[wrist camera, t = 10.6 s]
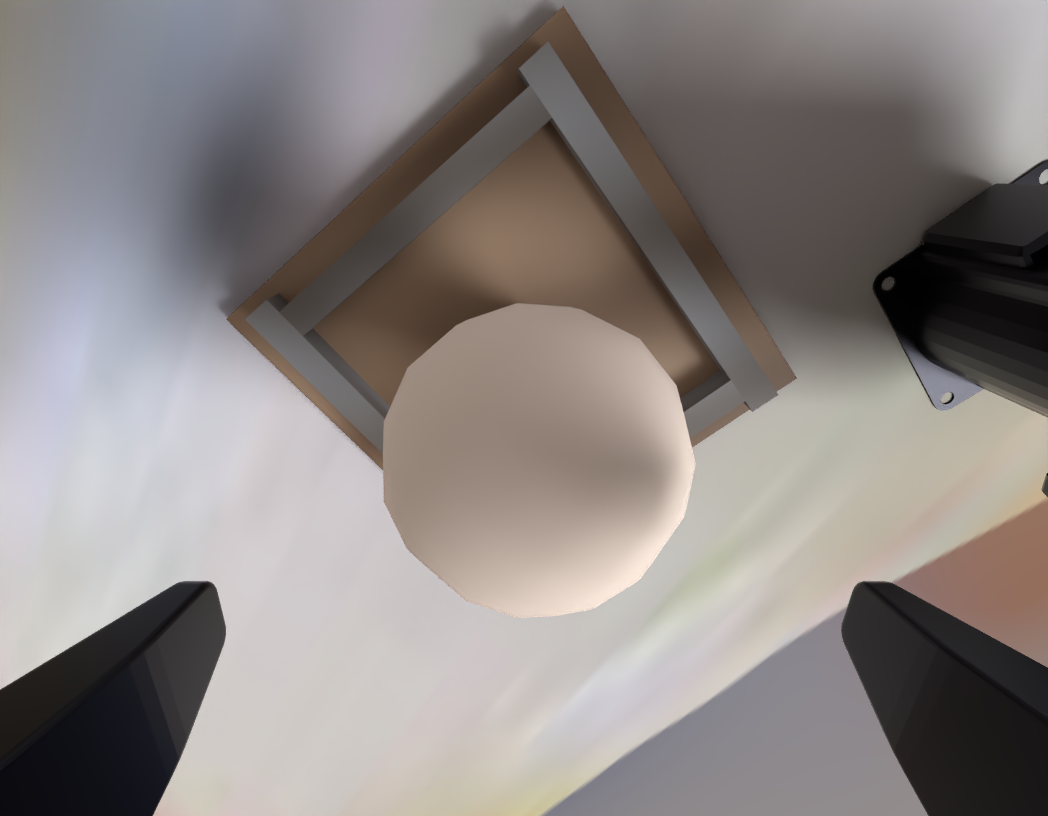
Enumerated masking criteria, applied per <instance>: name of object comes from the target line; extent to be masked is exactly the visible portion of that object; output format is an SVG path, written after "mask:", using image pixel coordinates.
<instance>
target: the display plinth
mask: <svg viewBox="0 0 1048 816" xmlns="http://www.w3.org/2000/svg"><path fill="white" fill-rule="evenodd" d="M516 303H523V304H537V305H551V306H565V307H573V308H577V309H581V310H583V311H585V312H587V313H589V314H591V315H593V316H595V317H597V318H599V319H601V320H603V321H605V322H607V323H609V324H611V325H613V326H615V327H617V328H619V329H621V330H623V331H625V332H627V333H629V334H631V335H633V336H635V337H637V338H639V339H640V340H641V341H642V342H643V344H644V345H645V346H646V347H647V349H648V350H649V351H650V352H651V354H652V355H653V356H654V358H655V359H656V360H657V361H658V363H659V364H660V365H661V366H662V368H663V369H664V370H665V371H666V373H667V374H668V375H669V377H670V378H671V379H672V380H673V382H674V383H675V384H676V385H677V389H678V393H679V397H680V401H681V404H682V408H683V412H684V416H685V420H686V425H687V429H688V433H689V437H690V442H691V446H692V447H693V446H695V445H697V444H698V443H700V442H701V441H703V440H704V439H706V438H707V437H709V436H710V435H712V434H713V433H715V432H716V431H718V430H719V429H721V428H722V427H724V426H725V425H727V424H728V423H730V422H731V421H733V420H734V419H736V418H737V417H739V416H740V415H742V414H743V413H745V412H746V411H748V410H749V409H750V410H751V411H752V412H753V411H754V410H756V409H757V408H759V407H760V406H762V405H763V404H765V403H766V402H768V401H770V400H771V399H773V398H774V397H776V396H777V395H778V394H777V391H778V390H780V389H781V388H783V387H784V386H786V385H787V384H789V383H790V382H792V381H793V380H795V379H796V376H795V374H794V373H793V371H792V370H791V368H790V367H789V365H788V363H787V362H786V360H785V359H784V357H783V355H782V354H781V352H780V351H779V349H778V347H777V346H776V344H775V343H774V341H773V339H772V338H771V336H770V335H769V333H768V331H767V330H766V328H765V327H764V325H763V323H762V322H761V320H760V319H759V317H758V315H757V314H756V312H755V311H754V309H753V307H752V306H751V304H750V303H749V301H748V300H747V298H746V296H745V295H744V293H743V292H742V290H741V288H740V287H739V285H738V284H737V282H736V280H735V279H734V277H733V276H732V274H731V272H730V271H729V269H728V268H727V266H726V264H725V263H724V261H723V260H722V258H721V256H720V255H719V253H718V252H717V250H716V248H715V247H714V245H713V244H712V242H711V241H710V239H709V237H708V236H707V234H706V233H705V231H704V229H703V228H702V226H701V225H700V223H699V221H698V220H697V218H696V217H695V215H694V213H693V212H692V210H691V209H690V207H689V205H688V204H687V202H686V201H685V199H684V197H683V196H682V194H681V193H680V191H679V189H678V188H677V186H676V185H675V183H674V181H673V180H672V178H671V177H670V175H669V174H668V172H667V170H666V169H665V167H664V166H663V164H662V162H661V161H660V159H659V158H658V156H657V154H656V153H655V151H654V150H653V148H652V146H651V145H650V143H649V142H648V140H647V138H646V137H645V135H644V134H643V132H642V130H641V129H640V127H639V126H638V124H637V122H636V121H635V119H634V118H633V116H632V114H631V113H630V111H629V110H628V108H627V107H626V105H625V103H624V102H623V100H622V99H621V97H620V95H619V94H618V92H617V91H616V89H615V87H614V86H613V84H612V83H611V81H610V79H609V78H608V76H607V75H606V73H605V71H604V70H603V68H602V67H601V65H600V63H599V62H598V60H597V59H596V57H595V55H594V54H593V52H592V51H591V49H590V48H589V46H588V44H587V43H586V41H585V40H584V38H583V36H582V35H581V33H580V32H579V30H578V28H577V27H576V25H575V24H574V22H573V20H572V19H571V17H570V16H569V14H568V12H567V11H566V9H565V8H564V6H563V7H562V8H561V9H560V10H559V11H557V12H556V13H555V14H554V15H553V16H552V17H551V18H550V19H549V20H548V21H547V22H546V23H545V24H543V25H542V26H541V27H540V28H539V29H538V30H537V31H536V32H535V33H534V34H533V35H532V36H531V37H529V38H528V39H527V40H526V41H525V42H524V43H523V44H522V45H521V46H520V47H519V48H518V49H517V50H515V51H514V52H513V53H512V54H511V55H510V56H509V57H508V58H507V59H506V60H505V61H504V62H503V63H501V64H500V65H499V66H498V67H497V68H496V69H495V70H494V71H493V72H492V73H491V74H490V75H489V76H487V77H486V78H485V79H484V80H483V81H482V82H481V83H480V84H479V85H478V86H477V87H476V88H475V89H473V90H472V91H471V92H470V93H469V94H468V95H467V96H466V97H465V98H464V99H463V100H462V101H461V102H459V103H458V104H457V105H456V106H455V107H454V108H453V109H452V110H451V111H450V112H449V113H448V114H447V115H445V116H444V117H443V118H442V119H441V120H440V121H439V122H438V123H437V124H436V125H435V126H434V127H433V128H431V129H430V130H429V131H428V132H427V133H426V134H425V135H424V136H423V137H422V138H421V139H420V140H419V141H417V142H416V143H415V144H414V145H413V146H412V147H411V148H410V149H409V150H408V151H407V152H406V153H405V154H403V155H402V156H401V157H400V158H399V159H398V160H397V161H396V162H395V163H394V164H393V165H392V166H391V167H389V168H388V169H387V170H386V171H385V172H384V173H383V174H382V175H381V176H380V177H379V178H378V179H377V180H375V181H374V182H373V183H372V184H371V185H370V186H369V187H368V188H367V189H366V190H365V191H364V192H363V193H361V194H360V195H359V196H358V197H357V198H356V199H355V200H354V201H353V202H352V203H351V204H350V205H349V206H347V207H346V208H345V209H344V210H343V211H342V212H341V213H340V214H339V215H338V216H337V217H336V218H335V219H333V220H332V221H331V222H330V223H329V224H328V225H327V226H326V227H325V228H324V229H323V230H322V231H321V232H319V233H318V234H317V235H316V236H315V237H314V238H313V239H312V240H311V241H310V242H309V243H308V244H307V245H305V246H304V247H303V248H302V249H301V250H300V251H299V252H298V253H297V254H296V255H295V256H294V257H293V258H291V259H290V260H289V261H288V262H287V263H286V264H285V265H284V266H283V267H282V268H281V269H280V270H279V271H277V272H276V273H275V274H274V275H273V276H272V277H271V278H270V279H269V280H268V281H267V282H266V283H265V284H263V285H262V286H261V287H260V288H259V289H258V290H257V291H256V292H255V293H254V294H253V295H252V296H251V297H249V298H248V299H247V300H246V301H245V302H244V303H243V304H242V305H241V306H240V307H239V308H238V309H237V310H235V311H234V312H233V313H232V314H231V315H230V316H229V317H228V318H227V320H228V321H229V322H230V323H231V324H232V325H233V326H234V327H235V328H236V329H237V330H238V331H239V332H240V333H241V334H242V335H243V336H244V337H245V338H246V339H247V340H248V341H249V342H250V343H251V344H252V345H254V346H255V347H256V348H257V349H258V350H259V351H260V352H261V353H262V354H263V355H264V356H265V357H266V358H267V359H268V360H269V361H270V362H271V363H272V364H273V365H274V366H275V367H276V368H277V369H278V370H280V371H281V372H282V373H283V374H284V375H285V376H286V377H287V378H288V379H289V380H290V381H291V382H292V383H293V384H294V385H295V386H296V387H297V388H298V389H299V390H300V391H301V392H302V393H303V394H304V395H305V396H307V397H308V398H309V399H310V400H311V401H312V402H313V403H314V404H315V405H316V406H317V407H318V408H319V409H320V410H321V411H322V412H323V413H324V414H325V415H326V416H327V417H328V418H329V419H330V420H331V421H333V422H334V423H335V424H336V425H337V426H338V427H339V428H340V429H341V430H342V431H343V432H344V433H345V434H346V435H347V436H348V437H349V438H350V439H351V440H352V441H353V442H354V443H355V444H356V445H357V446H358V447H360V448H361V449H362V450H363V451H364V452H365V453H366V454H367V455H368V456H369V457H370V458H371V459H372V460H373V461H374V462H375V463H376V464H377V465H378V466H379V467H380V468H381V469H382V470H383V432H384V420H385V418H386V415H387V413H388V411H389V409H390V406H391V404H392V402H393V400H394V397H395V395H396V393H397V391H398V388H399V386H400V384H401V381H402V379H403V377H404V375H405V372H406V370H407V368H408V367H409V366H410V365H411V364H412V363H414V362H415V361H416V360H417V359H418V358H419V357H420V356H422V355H423V354H424V353H425V352H426V351H427V350H428V349H430V348H431V347H432V346H433V345H434V344H435V343H436V342H438V341H439V340H440V339H441V338H442V337H443V336H444V335H446V334H447V333H448V332H449V331H450V330H451V329H453V328H454V327H455V326H456V325H458V324H460V323H462V322H464V321H466V320H468V319H471V318H474V317H477V316H480V315H483V314H486V313H489V312H492V311H495V310H498V309H501V308H504V307H507V306H510V305H513V304H516Z"/></svg>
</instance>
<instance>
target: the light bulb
mask: <svg viewBox="0 0 1048 816" xmlns="http://www.w3.org/2000/svg"><path fill="white" fill-rule="evenodd" d="M695 465H696V463H695V459H694V454H693V450H692V446H691V442H690V437H689V433H688V429H687V425H686V420H685V416H684V412H683V408H682V404H681V401H680V397H679V393H678V389H677V385H676V384H675V383H674V382H673V380H672V379H671V378H670V377H669V375H668V374H667V373H666V371H665V370H664V369H663V368H662V366H661V365H660V364H659V363H658V361H657V360H656V359H655V358H654V356H653V355H652V354H651V352H650V351H649V350H648V349H647V347H646V346H645V345H644V344H643V342H642V341H641V340H640V339H639V338H637V337H635V336H633V335H631V334H629V333H627V332H625V331H623V330H621V329H619V328H617V327H615V326H613V325H611V324H609V323H607V322H605V321H603V320H601V319H599V318H597V317H595V316H593V315H591V314H589V313H587V312H585V311H583V310H581V309H577V308H573V307H565V306H551V305H537V304H523V303H516V304H513V305H510V306H507V307H504V308H501V309H498V310H495V311H492V312H489V313H486V314H483V315H480V316H477V317H474V318H471V319H468V320H466V321H464V322H462V323H460V324H458V325H456V326H455V327H454V328H453V329H451V330H450V331H449V332H448V333H447V334H446V335H444V336H443V337H442V338H441V339H440V340H439V341H438V342H436V343H435V344H434V345H433V346H432V347H431V348H430V349H428V350H427V351H426V352H425V353H424V354H423V355H422V356H420V357H419V358H418V359H417V360H416V361H415V362H414V363H412V364H411V365H410V366H409V367H408V368H407V370H406V372H405V375H404V377H403V379H402V381H401V384H400V386H399V388H398V391H397V393H396V395H395V397H394V400H393V402H392V404H391V406H390V409H389V411H388V413H387V415H386V418H385V420H384V432H383V478H384V503H385V505H386V507H387V509H388V511H389V513H390V515H391V517H392V519H393V521H394V523H395V525H396V527H397V529H398V531H399V533H400V535H401V537H402V539H403V542H404V544H405V546H406V548H407V549H408V550H409V551H410V552H411V553H412V554H413V555H414V556H415V557H416V558H417V559H418V560H419V561H421V562H422V563H423V564H424V565H425V566H426V567H427V568H429V569H430V570H431V571H432V572H433V573H434V574H435V575H437V576H438V577H439V578H440V579H441V580H442V581H444V582H445V583H446V584H447V585H448V586H449V587H451V588H452V589H453V590H454V591H455V592H456V593H457V594H459V595H460V596H461V597H462V598H463V599H464V600H466V601H468V602H471V603H474V604H477V605H480V606H483V607H486V608H489V609H492V610H495V611H498V612H501V613H504V614H507V615H511V616H514V617H517V618H524V617H544V616H558V615H563V614H569V613H574V612H579V611H585V610H590V609H594V608H595V607H597V606H599V605H600V604H602V603H603V602H605V601H607V600H608V599H610V598H612V597H613V596H615V595H616V594H618V593H620V592H621V591H623V590H624V589H626V588H628V587H629V586H631V585H632V584H634V583H636V582H637V581H639V580H640V579H641V577H642V576H643V575H644V573H645V572H646V570H647V569H648V568H649V566H650V565H651V564H652V562H653V561H654V559H655V558H656V557H657V555H658V554H659V552H660V551H661V549H662V548H663V546H664V545H665V544H666V542H667V541H668V539H669V538H670V536H671V535H672V534H673V532H674V531H675V529H676V528H677V526H678V525H679V523H680V522H681V521H682V519H683V518H684V516H685V512H686V508H687V503H688V498H689V493H690V489H691V484H692V479H693V475H694V470H695Z"/></svg>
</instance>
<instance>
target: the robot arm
mask: <svg viewBox="0 0 1048 816" xmlns="http://www.w3.org/2000/svg"><path fill="white" fill-rule="evenodd" d="M1046 169H1048V161H1045V162H1043V163H1041V164H1039V165H1038V166H1036V167H1035V168H1033V169H1032V170H1030V171H1029V172H1027V173H1026V174H1024V175H1023V176H1021V177H1020V178H1019V179H1017V180H1016V181H1014V182H1013V183H1011V184H995V185H993V186H991V187H990V188H988V189H987V190H985V191H984V192H982V193H981V194H979V195H978V196H977V197H975V198H974V199H972V200H971V201H969V202H968V203H966V204H965V205H963V206H962V207H961V208H959V209H958V210H956V211H955V212H953V213H952V214H950V215H949V216H947V217H946V218H945V219H943V220H942V221H940V222H939V223H937V224H936V225H934V226H933V227H931V228H930V229H929V230H927V231H926V232H925V234H924V235H923V237H922V239H921V241H922V243H923V244H922V245H920V246H919V247H917V248H916V249H915V250H913V251H912V252H910V253H909V254H907V255H906V256H904V257H903V258H901V259H900V260H898V261H897V262H896V263H894V264H893V265H891V266H890V267H888V268H887V269H885V270H884V271H882V272H881V273H880V274H879V275H878V276H877V277H876V279H875V281H874V283H873V291H874V294H875V295H876V297H877V299H878V301H879V303H880V305H881V307H882V309H883V311H884V312H885V314H886V316H887V318H888V320H889V322H890V324H891V326H892V328H893V330H894V331H895V333H896V335H897V337H898V339H899V341H900V343H901V345H902V347H903V348H904V350H905V352H906V354H907V356H908V358H909V360H910V362H911V364H912V365H913V367H914V369H915V371H916V373H917V375H918V377H919V379H920V381H921V383H922V384H923V386H924V388H925V390H926V392H927V394H928V396H929V398H930V400H931V401H932V403H933V405H934V406H935V407H936V408H937V409H939V410H948V409H951V408H953V407H954V406H956V405H958V404H959V403H961V402H963V401H964V400H966V399H968V398H969V397H971V396H973V395H974V394H976V393H978V392H979V391H981V390H982V389H986V390H988V391H990V392H993V393H995V394H997V395H999V396H1001V397H1004V398H1006V399H1008V400H1010V401H1012V402H1015V403H1017V404H1019V405H1021V406H1024V407H1026V408H1028V409H1030V410H1032V411H1035V412H1037V413H1039V414H1041V415H1043V416H1046V417H1048V184H1046V185H1041V184H1040V183H1039V177H1040V175H1041V173H1042V172H1043V171H1044V170H1046ZM889 276H890V277H893V278H894V280H895V283H894V286H893V287H892V288H891V289H890V290H888V291H884V290H883V289H882V287H881V284H882V281H883V280H884V279H885V278H887V277H889ZM947 392H951V393H952V394H953V398H952V400H951V401H950V402H949V403H946V404H942V403H941V400H940V399H941V397H942V396H943V395H944V394H945V393H947ZM1042 492H1043V493H1044V494H1045V495H1046V496H1047V497H1048V473H1047V474H1046V477H1045V480H1044V484H1043V487H1042ZM841 631H842V638H843V642H844V644H845V647H846V649H847V651H848V653H849V656H850V658H851V660H852V662H853V665H854V666H855V669H856V671H857V673H858V676H859V678H860V680H861V682H862V685H863V687H864V689H865V691H866V694H867V696H868V698H869V700H870V702H871V705H872V707H873V709H874V711H875V714H876V716H877V718H878V720H879V722H880V725H881V727H882V729H883V731H884V733H885V736H886V738H887V740H888V742H889V744H890V746H891V748H892V750H893V752H894V754H895V756H896V758H897V759H898V762H899V764H900V765H901V767H902V769H903V771H904V773H905V774H906V776H907V778H908V780H909V782H910V784H911V785H912V787H913V789H914V791H915V793H916V794H917V796H918V798H919V800H920V801H921V803H922V805H923V807H924V809H925V810H926V812H927V814H928V816H1048V668H1047V667H1045V666H1043V665H1042V664H1040V663H1038V662H1036V661H1034V660H1032V659H1031V658H1029V657H1027V656H1025V655H1023V654H1022V653H1020V652H1018V651H1016V650H1014V649H1012V648H1011V647H1009V646H1007V645H1005V644H1003V643H1001V642H999V641H998V640H996V639H994V638H992V637H990V636H988V635H986V634H985V633H983V632H981V631H979V630H977V629H976V628H974V627H972V626H970V625H968V624H966V623H964V622H963V621H961V620H959V619H957V618H955V617H953V616H952V615H950V614H948V613H946V612H944V611H942V610H941V609H939V608H937V607H935V606H933V605H931V604H930V603H928V602H926V601H924V600H922V599H920V598H918V597H917V596H915V595H913V594H911V593H909V592H908V591H906V590H904V589H902V588H900V587H898V586H897V585H895V584H893V583H890V582H885V581H863V582H860V583H858V584H857V585H856V586H855V587H854V589H853V592H852V595H851V598H850V601H849V604H848V607H847V610H846V613H845V616H844V619H843V622H842V629H841ZM225 636H226V626H225V621H224V617H223V613H222V609H221V605H220V601H219V596H218V592H217V589H216V587H215V585H214V584H213V583H211V582H209V581H183V582H179V583H177V584H175V585H173V586H171V587H170V588H168V589H166V590H165V591H163V592H161V593H160V594H158V595H156V596H155V597H153V598H151V599H150V600H148V601H146V602H145V603H143V604H141V605H140V606H138V607H136V608H135V609H133V610H132V611H130V612H128V613H127V614H125V615H123V616H122V617H120V618H118V619H117V620H115V621H113V622H112V623H110V624H108V625H107V626H105V627H103V628H102V629H100V630H98V631H97V632H95V633H93V634H92V635H90V636H88V637H87V638H85V639H83V640H82V641H80V642H78V643H77V644H75V645H74V646H72V647H70V648H69V649H67V650H65V651H64V652H62V653H60V654H59V655H57V656H55V657H54V658H52V659H50V660H49V661H47V662H45V663H44V664H42V665H40V666H39V667H37V668H35V669H34V670H32V671H30V672H29V673H27V674H25V675H24V676H22V677H20V678H19V679H17V680H15V681H14V682H12V683H11V684H9V685H7V686H6V687H4V688H2V689H1V690H0V816H153V814H154V812H155V810H156V808H157V806H158V804H159V802H160V800H161V798H162V796H163V794H164V792H165V790H166V788H167V785H168V783H169V781H170V779H171V777H172V775H173V773H174V771H175V769H176V766H177V764H178V762H179V760H180V758H181V755H182V753H183V750H184V748H185V745H186V743H187V740H188V738H189V735H190V733H191V730H192V727H193V725H194V722H195V719H196V717H197V714H198V711H199V709H200V706H201V704H202V701H203V698H204V696H205V693H206V690H207V688H208V685H209V682H210V680H211V677H212V675H213V672H214V669H215V667H216V664H217V661H218V659H219V656H220V653H221V651H222V648H223V645H224V642H225Z"/></svg>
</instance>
